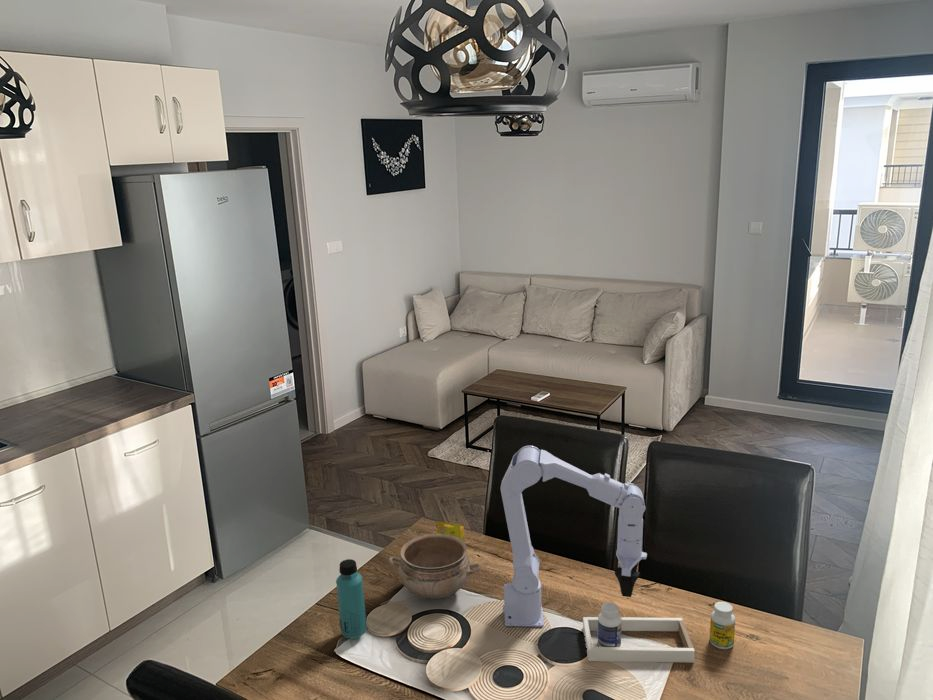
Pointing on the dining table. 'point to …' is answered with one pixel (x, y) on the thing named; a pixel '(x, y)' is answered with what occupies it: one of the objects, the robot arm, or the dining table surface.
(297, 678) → the dining table surface
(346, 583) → the beverage bottle
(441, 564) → the cooking pot
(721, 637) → the supplement bottle
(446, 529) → the crayon box
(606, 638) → the pill bottle
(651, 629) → the corral
